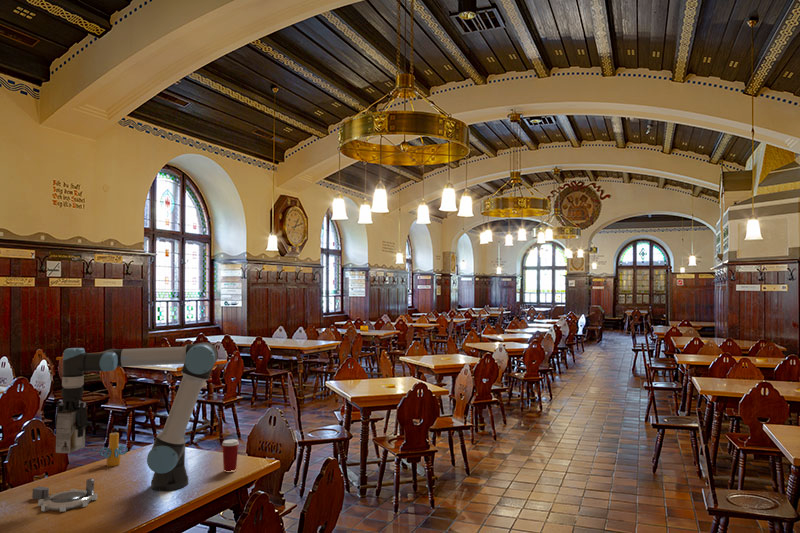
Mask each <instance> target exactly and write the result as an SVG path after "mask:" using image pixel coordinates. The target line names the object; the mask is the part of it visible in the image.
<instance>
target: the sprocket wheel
mask: <svg viewBox="0 0 800 533" xmlns="http://www.w3.org/2000/svg"><path fill="white" fill-rule="evenodd" d="M97 499H98V493H97V492H95V478H88V479H86V481H85V489H77V488H70V489H69V490H64V491H58V492H51V493H49V496H48V497H46V498H45V499H39V500H37V502H38V503H37V507H41V508H40V509H41V510H40V511H41V512H44V513H45V512H47V511H54V512H55V511H59V513H61V512H62V513H63V512H64V513H65V512H67V511H68V510H72V509H76V508H84V507H88V505H89V503H90V502H92V501H97Z"/></svg>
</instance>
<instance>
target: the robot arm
mask: <svg viewBox="0 0 800 533" xmlns="http://www.w3.org/2000/svg"><path fill="white" fill-rule="evenodd" d="M218 358H219V351H218V348H217V347H216V346H215V345H214V344H213V343H211V342H208V341H207V342H205V341H203V342H198V343H191V344H190V343H188V344H185V345H184V346H171V347H169V346H167V347H166V346H165V347H148V348H147V347H146V348H145V347H142V348H123V349H121V348H119V349H116V348H108V349H106V350H104V351H101V352H86V351H85V348H84V347H71V348H69V347H68V348H65V350H63V354H62V376H61V377H62V380H61V386H62V387H61V398H62V399H60V400H57V401H56V407H57V408H56V413H55V414H56V415H55V420H54V422H55V423H54V425H55V426H56V425H57V412H59V411H62V410H71V411H77V409H78V410H79V411H78V412H77V414H76V427H77V428H76V429H75V444H74V446H78V445H81V444H82V436H83V428H84V427H85V428H87V427H88V426H89V425H88V424H89V423H88V401H82V397H83V396H84V385H85V382H84V381H85V374H84V372H85V373H86V372H87V373H88V372H104V373H106V372H114V371H115V370H116V369H117V368H121V367H123V368H124V367H140V366H141V367H142V366H143V367H144V366H166V365H167V366H168V365H182V368H181V371H180V372H181V374H182V377H181V378H182V379H181V382H180V384H179V386H178V389H177V392H176V393H175V397H174V400H173V403H172V405H171V408H170V410H169V413H168V416H167V418H166V420H165V424H164V427H163V429H162V431H161V432H158V433H157V434H156V436H155V439H154V441H153V442H154V443H153V445H152V447H151V449H150V450H149V452H147V457H146V463H147V467H148V468H149V469H150V470H151V472H154V473H153V476H152V479H151V480H150V488H151V489H152V490H154V491H159V492H165V491H175V490H178V489H182V488H184V487H186V486H188V484H189V476H188V473H187V469H186V466H185V460H186V458H185V457H186V439H187V437H186V430H187V427H188V424H189V422H190V419H191V416H192V414H193V411H194V408H195V406H196V403H197V401H198V399H199V398H198V397H199V396H200V392H201V391H202V387H203V385H204V382H206V381H208V380H209V379H210V377H211V374H212V371H213V369H214V365H215V364H216V363H217V361H218Z"/></svg>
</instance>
